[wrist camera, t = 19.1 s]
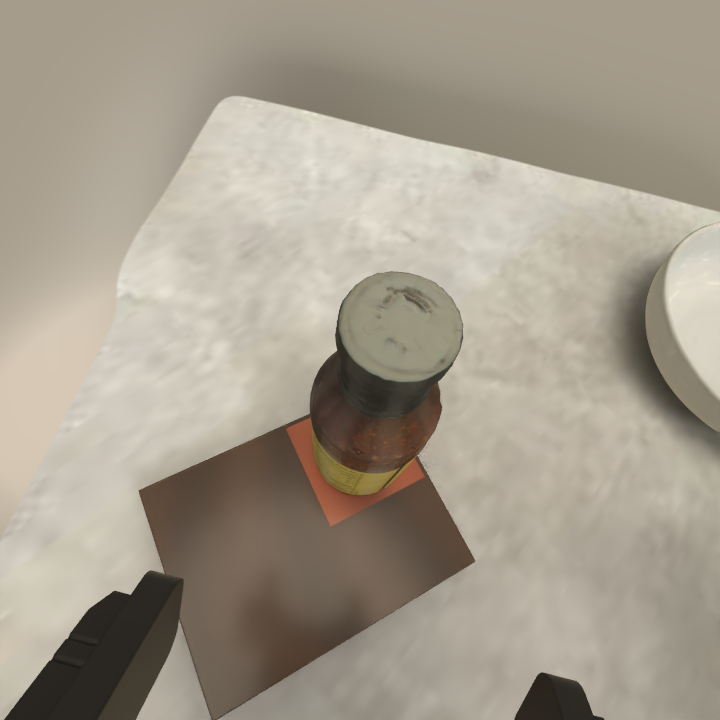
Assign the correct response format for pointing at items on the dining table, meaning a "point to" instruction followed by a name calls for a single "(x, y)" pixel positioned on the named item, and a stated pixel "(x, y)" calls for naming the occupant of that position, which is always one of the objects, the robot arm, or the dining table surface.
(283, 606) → the walnut board
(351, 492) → the sauce bottle
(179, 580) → the robot arm
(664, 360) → the serving bowl
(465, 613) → the dining table surface
